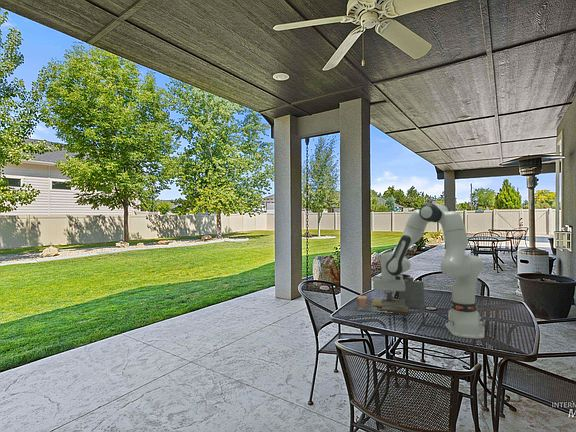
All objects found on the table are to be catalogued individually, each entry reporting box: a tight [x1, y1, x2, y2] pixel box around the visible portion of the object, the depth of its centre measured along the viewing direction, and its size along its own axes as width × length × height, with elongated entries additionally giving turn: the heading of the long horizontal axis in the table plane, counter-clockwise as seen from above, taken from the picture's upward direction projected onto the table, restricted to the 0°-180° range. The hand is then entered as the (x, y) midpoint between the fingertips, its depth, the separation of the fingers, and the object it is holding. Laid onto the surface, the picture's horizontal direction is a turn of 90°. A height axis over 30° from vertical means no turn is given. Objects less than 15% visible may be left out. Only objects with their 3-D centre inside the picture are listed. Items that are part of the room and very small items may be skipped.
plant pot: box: [394, 273, 411, 298], centre depth 233 cm, size 15×15×16 cm
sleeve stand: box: [369, 298, 409, 316], centre depth 206 cm, size 14×32×7 cm, turn 68°
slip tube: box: [371, 291, 393, 307], centre depth 205 cm, size 3×16×9 cm, turn 68°
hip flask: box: [398, 276, 426, 310], centre depth 209 cm, size 16×4×20 cm, turn 57°
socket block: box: [357, 295, 368, 307], centre depth 211 cm, size 6×6×6 cm
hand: (389, 297), depth 204 cm, fingers closed on slip tube, 3 cm apart
